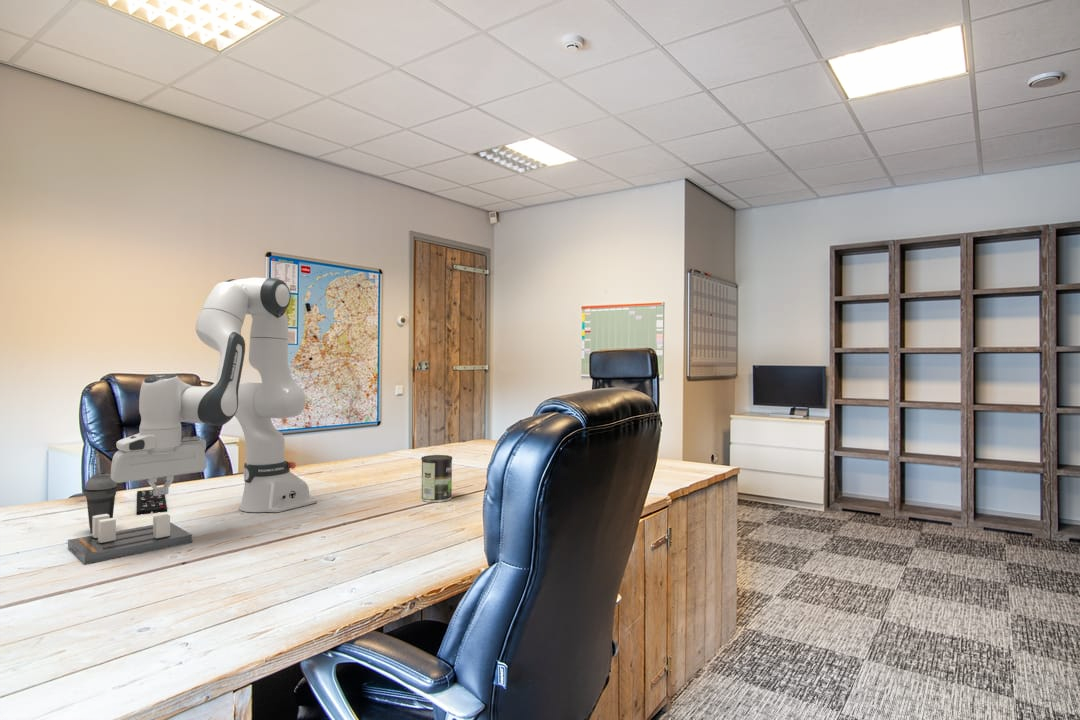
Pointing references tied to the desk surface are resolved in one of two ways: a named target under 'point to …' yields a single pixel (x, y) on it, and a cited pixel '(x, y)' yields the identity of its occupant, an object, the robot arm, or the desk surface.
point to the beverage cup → (100, 495)
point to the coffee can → (436, 478)
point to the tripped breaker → (161, 526)
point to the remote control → (150, 502)
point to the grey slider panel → (126, 543)
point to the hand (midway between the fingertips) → (160, 494)
